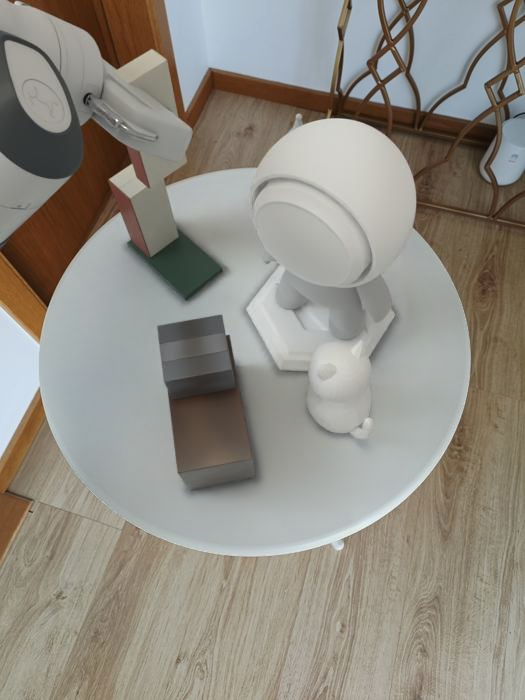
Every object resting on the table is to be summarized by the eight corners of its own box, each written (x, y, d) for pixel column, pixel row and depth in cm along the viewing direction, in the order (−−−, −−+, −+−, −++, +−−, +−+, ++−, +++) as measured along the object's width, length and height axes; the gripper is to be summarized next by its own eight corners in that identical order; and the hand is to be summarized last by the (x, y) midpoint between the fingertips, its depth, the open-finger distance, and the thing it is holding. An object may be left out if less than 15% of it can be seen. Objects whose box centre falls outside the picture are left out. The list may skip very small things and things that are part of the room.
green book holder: (185, 301, 85) (168, 242, 71) (127, 246, 90) (101, 182, 76) (223, 271, 87) (213, 209, 74) (164, 219, 92) (145, 152, 78)
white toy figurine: (225, 337, 82) (193, 168, 50) (304, 235, 90) (319, 34, 58) (338, 405, 77) (382, 264, 45) (411, 290, 85) (492, 102, 53)
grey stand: (189, 490, 72) (168, 460, 57) (174, 376, 79) (152, 324, 65) (255, 477, 72) (250, 444, 58) (234, 365, 80) (225, 311, 65)
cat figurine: (338, 361, 80) (351, 311, 66) (392, 428, 75) (418, 389, 61) (288, 393, 78) (291, 347, 64) (340, 464, 73) (355, 431, 59)
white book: (149, 188, 66) (119, 88, 53) (136, 177, 66) (104, 77, 54) (187, 162, 67) (167, 59, 55) (174, 152, 68) (152, 48, 56)
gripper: (140, 96, 44) (235, 131, 56) (7, -8, 51) (117, 42, 62) (111, 166, 47) (208, 185, 58) (-11, 57, 53) (97, 94, 65)
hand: (160, 110), depth 60 cm, fingers closed on white book, 2 cm apart
